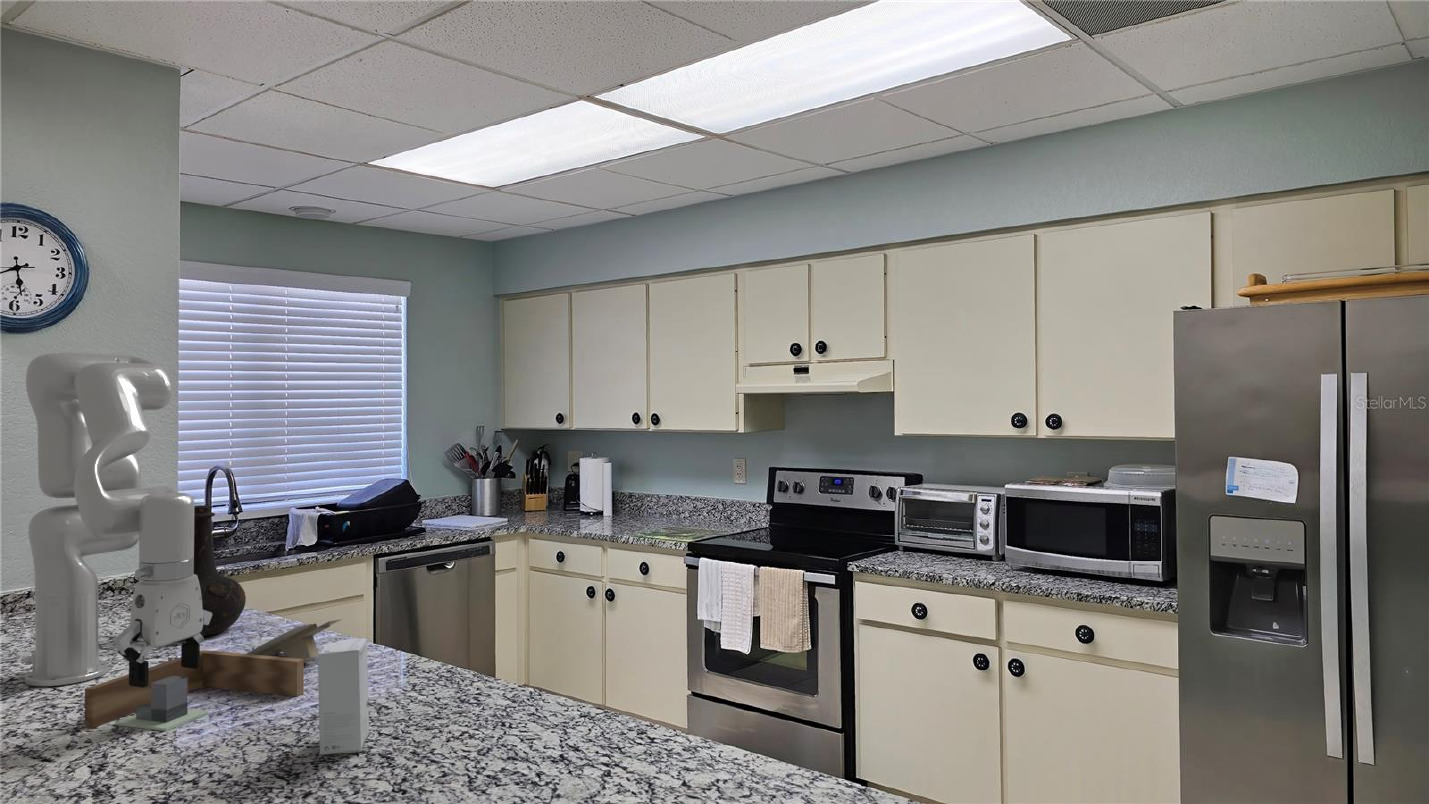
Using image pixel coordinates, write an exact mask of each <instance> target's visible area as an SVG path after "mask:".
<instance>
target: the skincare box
mask: <svg viewBox="0 0 1429 804" xmlns="http://www.w3.org/2000/svg"><path fill="white" fill-rule="evenodd" d="M318 653H319V654H318V657H317V674H318V675H317V678H318V679H317V681H318V686H317V687H318V725H319V727H318V730H319V732H318V734H319V735H318V736H319V755H321V756H322V755H330V754H331V755H332V754H352V753H360V752H362V748H363V746H364V743H365V741H366V739H367V737H368V735H369V733H370V710H369V708H370V707H369V671H368V670H369V669H368V638H366V637H365V638H354V639H340V640H330V641H328V642H327V644H326V645H324V646H322V649H321V650H320V652H318Z"/></svg>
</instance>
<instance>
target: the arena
mask: <svg viewBox="0 0 1429 804" xmlns="http://www.w3.org/2000/svg"><path fill="white" fill-rule="evenodd" d="M304 665H305V663H304V659H296V658H288V657H283V656H264V655H253V654H246V653H242V652H240V653H239V652H229V651H220V650H219V651H218V650H206V649H202V650H200V667H199V668H197V669H192V668H184V667H182V666H181V656H180V657H177V658H174V659H171V660H168V661H166V662H165V661H164V662H162V663H159V664H156V665H153V666H149V678H148V686H147V687H144V688H142V687H135V686H130V685H129V673H128V674H126V675H123V676H120V677H116V678H113V679H110V680H108V681H107V680H106V681H104V682H101V683H97V684H95V685H92V686H88V687H86V688H84V728H91V729H94V728H96V727H100V726H101V725H105V724H107V723H109V722H112V721H114V720H118V719H121V718H123V717H125V716H128V715H131V714H134V713H136V707H137V706H139V705H142V704H145V703H147V702H150V701H151V683H153V682H156V681H159V680H161V679H164V678H167V677H170V676H181V677H187V693H190V692H192V691H195V690H198V689H200V688H203V687H204V688H213V689H224V690H233V691H242V692H250V693H251V692H252V693H261V694H270V695H281V696H290V697H291V696H292V697H299V696H301V695H304V691H305V690H304V688H305V687H304V683H305V682H304V681H305V680H304V678H305V677H304V674H305V673H304V671H305V668H304Z"/></svg>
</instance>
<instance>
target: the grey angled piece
mask: <svg viewBox="0 0 1429 804" xmlns="http://www.w3.org/2000/svg"><path fill="white" fill-rule="evenodd" d="M340 621H342V619H340V618H339V619H336V620H330V621H326V622H325V623H323V624H320V625H319V626H318V625H317V623H311V624H305V625H299V626H296V627H294V628H292V629H289V630H288V631H286V632H284V633H282V634H279V636H276V637H274V638H273V639H270V640H268V641H267V642H264V643H263V644H261V645H259V646H257V647H256V648H254V649H252V650H250V651H248V652H246V653H245V654H253V655H264V656H274V657H276V655H277V656H278V654H280V653H283V654H284V656H286V658H296V659H304V664H306V663H308V662H311V660H314V659H315V658H318V654H319V653H320V652H319V650H318V647H317V645H316V642H315V637H314V636H315V635H316V634H319V633H321V632H323V631H325V630H326V629H328V628H330V627H331V626H332V625H334V624H336V623H338V622H340Z"/></svg>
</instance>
